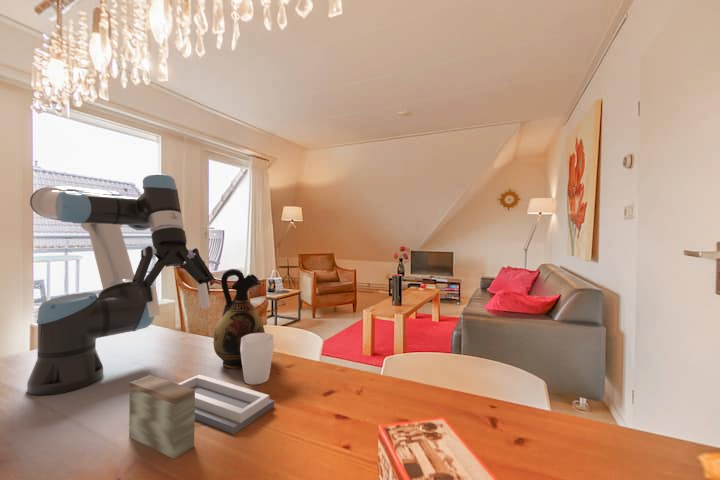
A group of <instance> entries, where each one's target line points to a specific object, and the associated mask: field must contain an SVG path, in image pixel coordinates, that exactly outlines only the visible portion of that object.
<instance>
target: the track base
mask: <svg viewBox="0 0 720 480" xmlns="http://www.w3.org/2000/svg"><path fill="white" fill-rule="evenodd" d="M177 384H179V385H183V386H186V387H189V388H192V389H195V421H199V422H200V423H203V424H206V425H208V426H211V427H214V428H216V429H219V430H221V431H224V432H226V433H228V434H232V435H235V434H237V433H238V432H240V431H241V430H242V429H243V430H244V428H245V427H247V426H248V425H250V424H251V423H253V422H255V421H256V420H257V419H258V418H260V417H262V416H263V415H264V414H266V413H267V412H269V411H270V410H271V409H273V408H274V407H275V400H273V399H271V398H270V394H268V393H267V394H266V393H263V392H260V391H256V390H253V389H249V388H247V387H243V386H239V385H237V384H233V383H230V382H226V381H223V380H219V379H217V378H216V379H215V378H212V377H209V376H207V375H202V374H198V375H195V376H192V377H190V378H188V379H185V380H183V381H181V382H179V383H177Z"/></svg>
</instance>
